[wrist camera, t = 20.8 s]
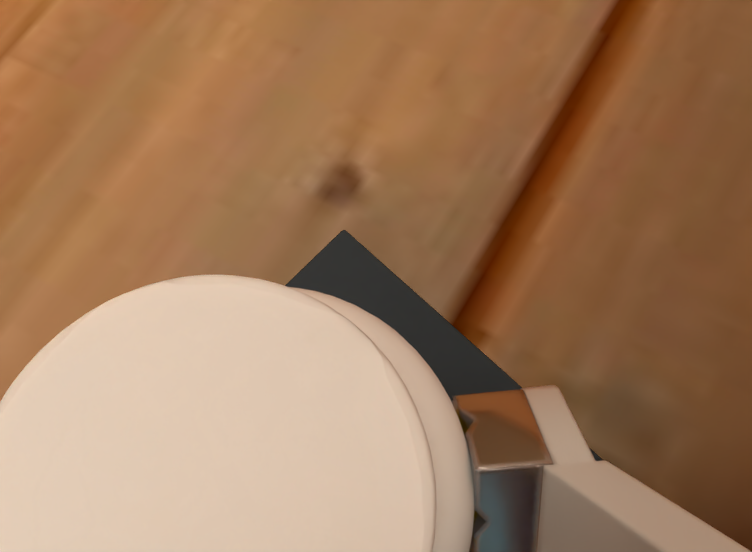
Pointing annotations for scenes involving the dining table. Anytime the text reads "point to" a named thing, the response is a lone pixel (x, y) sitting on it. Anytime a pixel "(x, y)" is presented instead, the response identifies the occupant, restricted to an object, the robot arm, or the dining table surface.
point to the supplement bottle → (231, 430)
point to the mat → (403, 316)
